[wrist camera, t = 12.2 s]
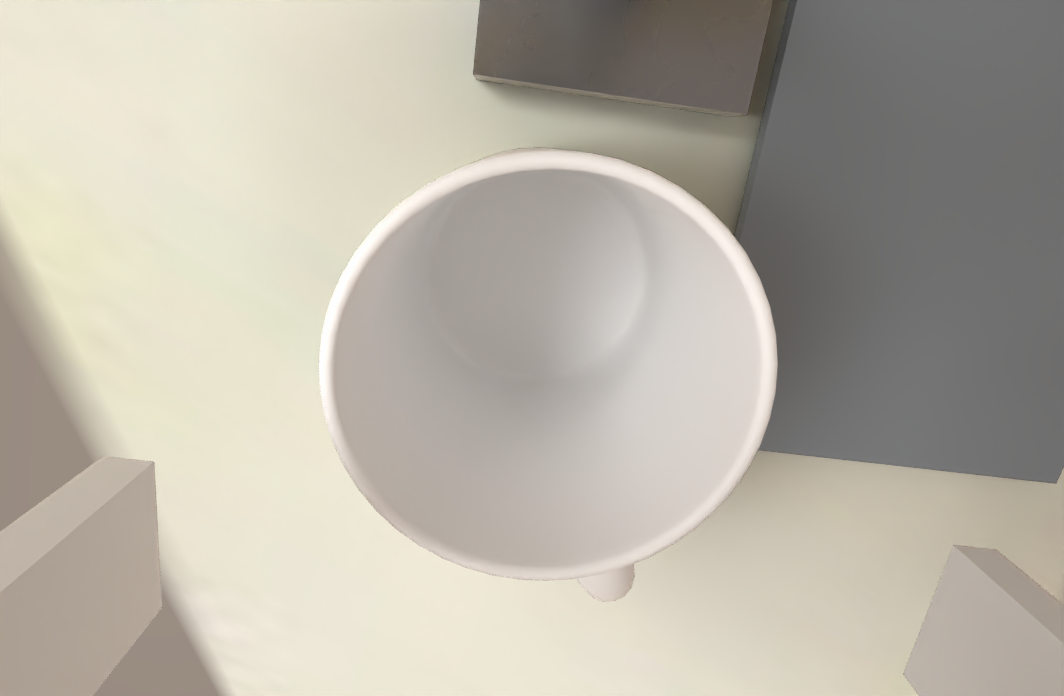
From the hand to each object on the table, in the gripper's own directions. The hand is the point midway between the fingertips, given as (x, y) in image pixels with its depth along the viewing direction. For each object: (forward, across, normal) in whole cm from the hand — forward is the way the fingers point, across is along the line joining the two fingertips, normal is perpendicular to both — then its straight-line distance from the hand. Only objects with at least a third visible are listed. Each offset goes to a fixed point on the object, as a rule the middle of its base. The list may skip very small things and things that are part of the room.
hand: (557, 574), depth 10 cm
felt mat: (+12, +13, +6) cm, 19 cm away
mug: (+12, 0, +1) cm, 12 cm away
